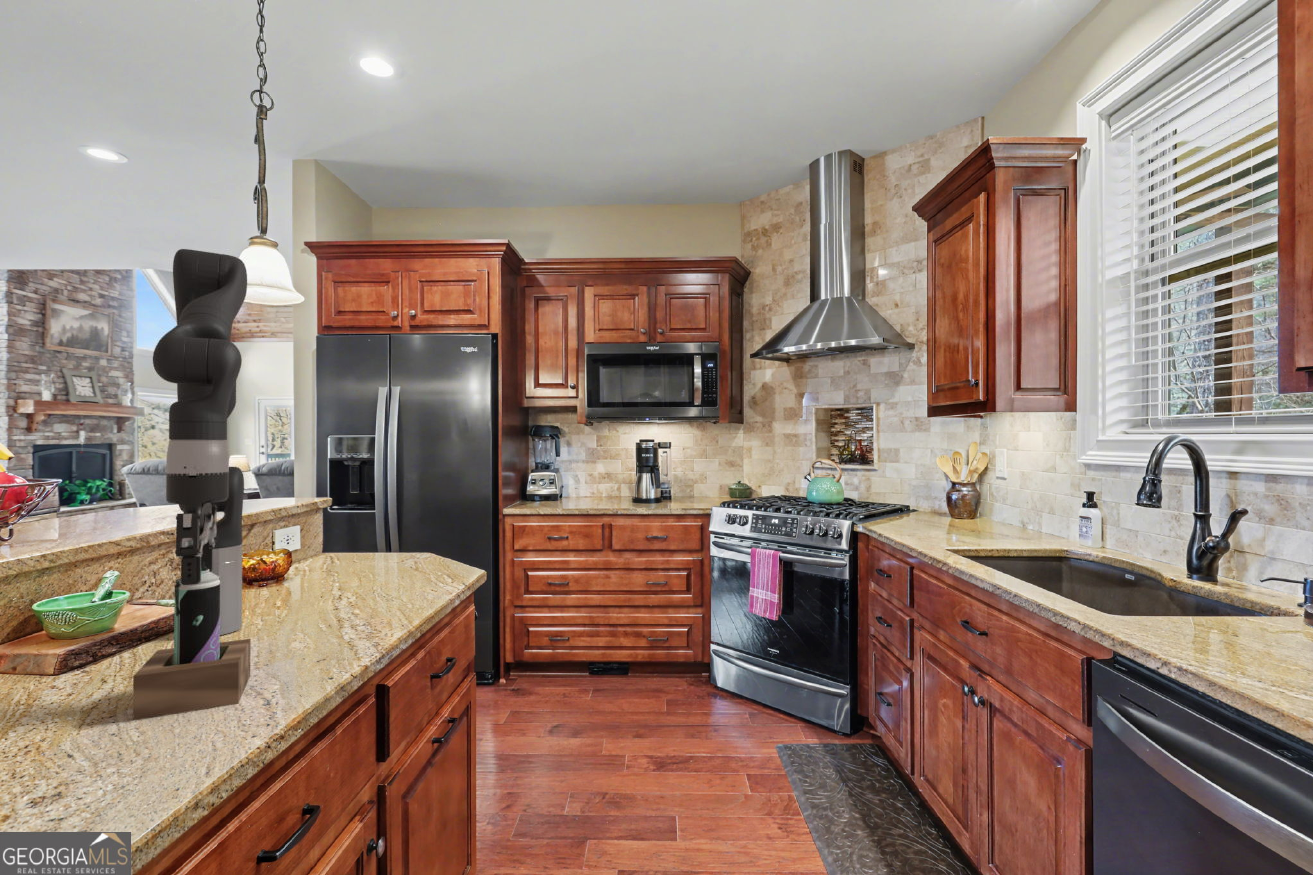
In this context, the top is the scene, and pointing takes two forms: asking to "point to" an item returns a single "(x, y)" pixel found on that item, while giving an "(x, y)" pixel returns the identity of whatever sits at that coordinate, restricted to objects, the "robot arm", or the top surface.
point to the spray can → (197, 620)
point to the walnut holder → (191, 682)
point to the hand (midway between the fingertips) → (197, 578)
